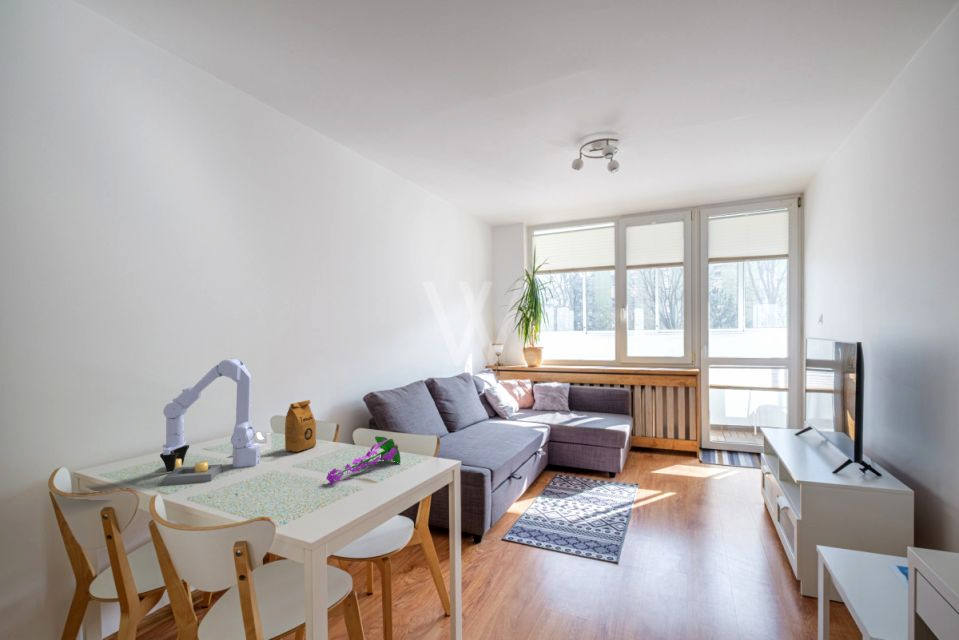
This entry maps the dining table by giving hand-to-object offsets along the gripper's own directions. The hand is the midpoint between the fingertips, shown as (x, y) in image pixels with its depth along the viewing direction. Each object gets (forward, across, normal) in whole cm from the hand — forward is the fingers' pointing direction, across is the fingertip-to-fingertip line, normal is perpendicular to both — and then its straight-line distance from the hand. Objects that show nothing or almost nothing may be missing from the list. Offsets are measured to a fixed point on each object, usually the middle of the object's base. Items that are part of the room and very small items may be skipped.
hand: (175, 468), depth 167 cm
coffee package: (+2, -22, +42) cm, 48 cm away
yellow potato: (0, +12, +14) cm, 18 cm away
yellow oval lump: (+2, 0, 0) cm, 2 cm away
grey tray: (+2, +12, +11) cm, 16 cm away
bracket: (+2, -22, +22) cm, 31 cm away
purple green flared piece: (+2, +16, +73) cm, 74 cm away
